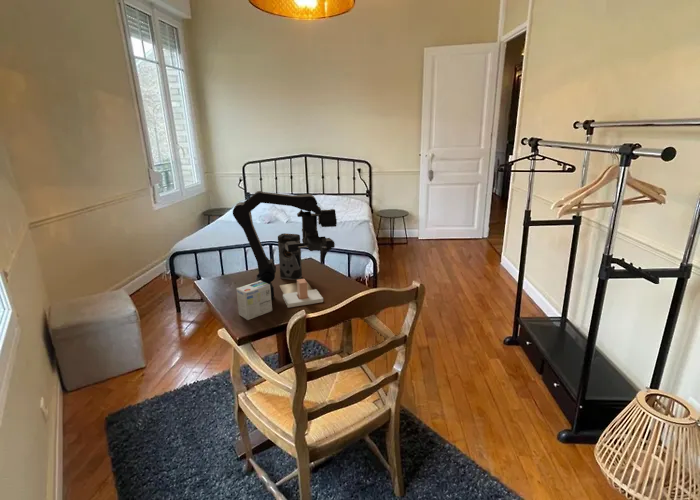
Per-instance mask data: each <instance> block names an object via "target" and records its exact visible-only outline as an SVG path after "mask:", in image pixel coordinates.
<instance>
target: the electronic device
mask: <svg viewBox="0 0 700 500" xmlns="http://www.w3.org/2000/svg"><path fill="white" fill-rule="evenodd" d="M290 241H295V242H296V243H301V235H300V234H296V233H280V234H278V236H277V246H278V249H277V250H278V260H279V261H278V262H279V263H278V265H279V278H280V279H282V280H283V279H284V280H290V281H297V280H298V279H302V277H303V267H302V251H301V249H302V248H299V250H298V251H299V259H300V267H299V266H298V264H297V261H296V259H295V256H294V255H293V254H291V252H288V251H287V250H286V249H285V243H286V242H290Z"/></svg>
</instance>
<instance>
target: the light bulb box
mask: <svg viewBox="0 0 700 500" xmlns="http://www.w3.org/2000/svg"><path fill="white" fill-rule="evenodd" d="M235 290H236V298H237V308H238V315H239V316H241V317H242V318H243V319H245V320H246V321H250V320H251V319H255V318H257V317H260V316H262V315H265V314H268V313H271V312H273V305H272V304H273V303H272V301H273V300H271V289H270V284H268V283H265V282H263V281H261V280H260V281H257V282H255V281H254V282H252V283H249V284H246V285H243V286H240V287H239V286H238V287H236V288H235Z"/></svg>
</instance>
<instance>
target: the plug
mask: <svg viewBox="0 0 700 500" xmlns="http://www.w3.org/2000/svg"><path fill="white" fill-rule="evenodd" d="M296 283H297V293H298V298H299V300H300V299H306V298H308V293H307V283H308V281H307V280H306V279H305V278H300V279H298V280H296Z"/></svg>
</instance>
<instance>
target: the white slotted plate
mask: <svg viewBox="0 0 700 500" xmlns="http://www.w3.org/2000/svg"><path fill="white" fill-rule="evenodd" d="M307 293H308V298H306V299H300V300H299V298H298V293H297V292H294V293H287V294H283V293H282V299H283V301H284V303H285V304H286V306H287V308H294V307H299V306H306V305H313V304H318V303H323V302H324V297H323V296H322V295H321V294H320V292H319V291H318V289H316V288H314V289H313V290H307Z"/></svg>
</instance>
